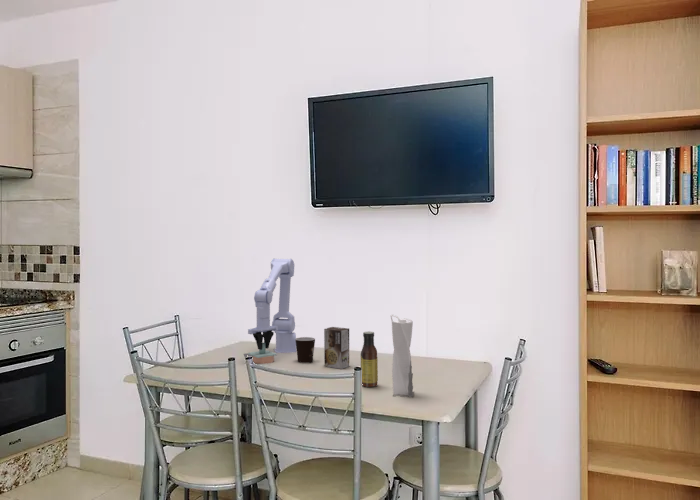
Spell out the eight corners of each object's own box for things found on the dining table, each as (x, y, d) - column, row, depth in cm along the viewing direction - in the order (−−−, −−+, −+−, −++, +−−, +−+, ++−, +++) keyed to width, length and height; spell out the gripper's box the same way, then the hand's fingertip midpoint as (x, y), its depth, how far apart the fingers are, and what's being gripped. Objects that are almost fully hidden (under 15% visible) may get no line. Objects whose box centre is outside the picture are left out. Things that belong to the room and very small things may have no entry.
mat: (269, 353, 273) (269, 352, 273) (272, 358, 261) (272, 357, 261) (243, 354, 270) (243, 353, 270) (245, 359, 258) (245, 359, 258)
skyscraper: (388, 396, 202) (389, 316, 201) (391, 390, 210) (391, 313, 209) (412, 398, 201) (413, 317, 200) (414, 391, 209) (415, 313, 208)
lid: (266, 351, 261) (266, 340, 261) (276, 355, 254) (276, 343, 254) (248, 354, 256) (248, 342, 256) (257, 357, 248) (257, 346, 248)
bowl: (272, 359, 260) (272, 352, 260) (275, 363, 251) (275, 356, 251) (251, 360, 257) (251, 353, 257) (253, 364, 249) (253, 357, 249)
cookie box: (350, 366, 247) (350, 328, 246) (341, 369, 241) (341, 330, 241) (332, 363, 252) (332, 326, 251) (323, 366, 246) (323, 328, 246)
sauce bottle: (367, 382, 220) (368, 330, 220) (381, 385, 216) (381, 331, 216) (356, 385, 215) (357, 332, 215) (370, 388, 211) (370, 334, 211)
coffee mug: (306, 364, 249) (306, 341, 249) (291, 361, 254) (291, 339, 254) (323, 360, 259) (323, 337, 258) (308, 357, 264) (308, 335, 263)
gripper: (271, 315, 262) (271, 345, 262) (243, 318, 252) (243, 349, 252) (280, 316, 257) (280, 347, 257) (253, 320, 246) (253, 352, 247)
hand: (263, 348), depth 254 cm, fingers closed on lid, 3 cm apart
